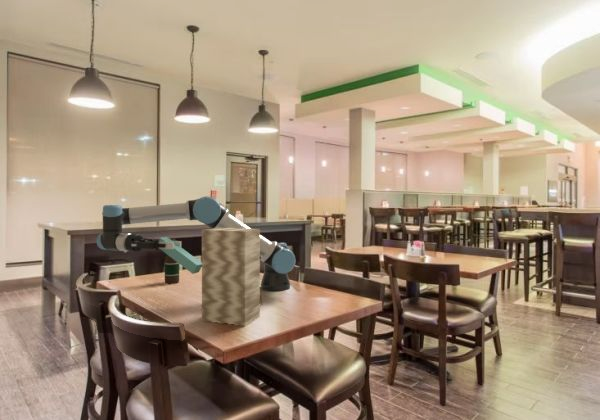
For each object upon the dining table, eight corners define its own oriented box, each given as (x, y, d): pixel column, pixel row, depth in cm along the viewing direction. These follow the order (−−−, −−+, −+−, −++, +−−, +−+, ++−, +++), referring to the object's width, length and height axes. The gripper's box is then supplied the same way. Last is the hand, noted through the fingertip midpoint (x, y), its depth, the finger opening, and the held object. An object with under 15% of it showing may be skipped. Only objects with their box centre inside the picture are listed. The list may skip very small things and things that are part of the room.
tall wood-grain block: (202, 320, 144) (201, 229, 143) (219, 312, 155) (219, 227, 154) (245, 326, 138) (245, 231, 137) (259, 316, 149) (259, 229, 148)
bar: (156, 246, 155) (160, 237, 154) (162, 244, 159) (166, 236, 158) (192, 273, 149) (197, 265, 148) (198, 272, 153) (203, 263, 152)
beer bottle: (174, 284, 205) (174, 239, 204) (161, 283, 206) (161, 239, 206) (182, 281, 212) (182, 238, 212) (169, 280, 214) (169, 237, 213)
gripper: (145, 249, 170) (190, 252, 162) (114, 254, 154) (162, 257, 146) (145, 232, 170) (190, 234, 162) (114, 235, 153) (162, 237, 146)
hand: (177, 245), depth 154 cm, fingers closed on bar, 4 cm apart
